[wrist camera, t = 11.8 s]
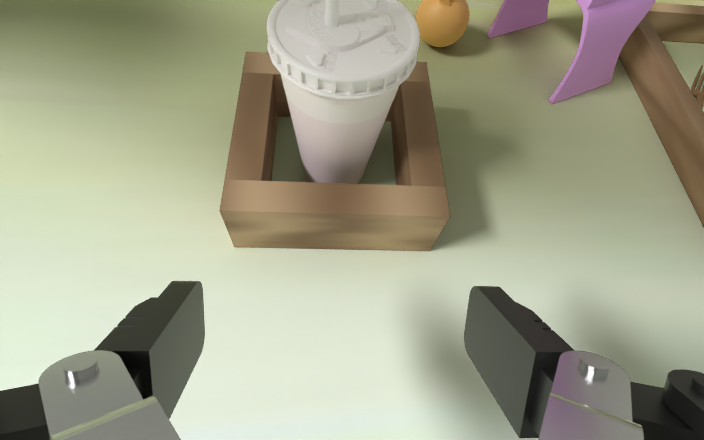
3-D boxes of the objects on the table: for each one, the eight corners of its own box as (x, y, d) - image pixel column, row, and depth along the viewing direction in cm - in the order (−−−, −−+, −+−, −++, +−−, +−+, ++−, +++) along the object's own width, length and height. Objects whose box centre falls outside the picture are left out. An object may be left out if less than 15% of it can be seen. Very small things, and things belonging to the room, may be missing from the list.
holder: (234, 246, 22) (219, 210, 19) (254, 101, 28) (245, 51, 24) (429, 250, 23) (449, 216, 20) (412, 108, 28) (426, 62, 25)
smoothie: (275, 132, 26) (242, -148, 14) (372, 123, 27) (422, -144, 15) (288, 219, 23) (260, -39, 11) (396, 204, 24) (484, -45, 12)
